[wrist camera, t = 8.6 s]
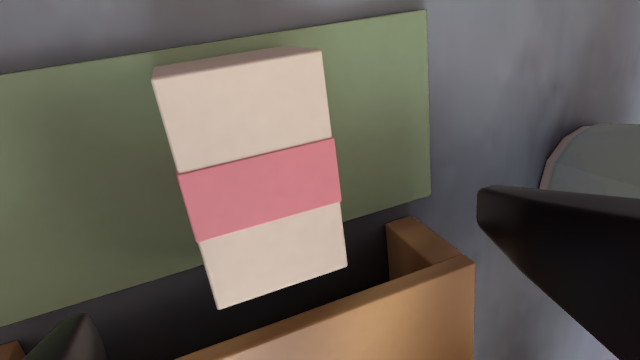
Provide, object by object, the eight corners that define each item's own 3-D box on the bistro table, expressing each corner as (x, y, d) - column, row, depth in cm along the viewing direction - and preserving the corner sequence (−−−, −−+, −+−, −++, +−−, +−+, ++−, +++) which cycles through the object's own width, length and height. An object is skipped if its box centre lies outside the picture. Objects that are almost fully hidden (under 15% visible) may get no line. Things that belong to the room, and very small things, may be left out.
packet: (286, 44, 16) (324, 48, 12) (314, 222, 19) (350, 267, 15) (151, 66, 14) (148, 78, 11) (205, 254, 17) (216, 313, 14)
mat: (421, 9, 18) (426, 8, 17) (426, 192, 21) (431, 195, 21) (-145, 97, 12) (-154, 98, 12) (-11, 325, 16) (-15, 332, 15)
